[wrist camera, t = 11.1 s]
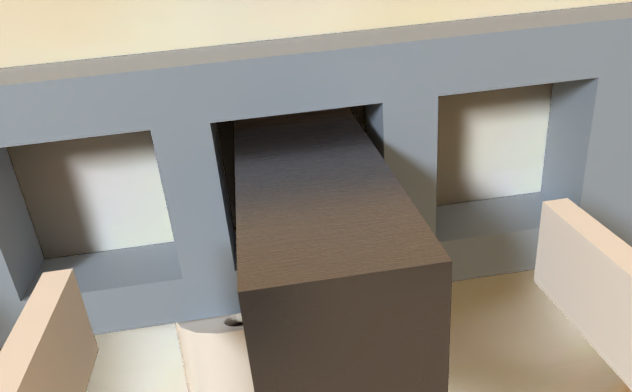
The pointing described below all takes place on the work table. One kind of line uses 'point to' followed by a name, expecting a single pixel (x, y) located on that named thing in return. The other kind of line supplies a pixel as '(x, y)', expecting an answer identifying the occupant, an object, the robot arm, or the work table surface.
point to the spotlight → (215, 354)
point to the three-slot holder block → (312, 95)
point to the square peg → (335, 262)
